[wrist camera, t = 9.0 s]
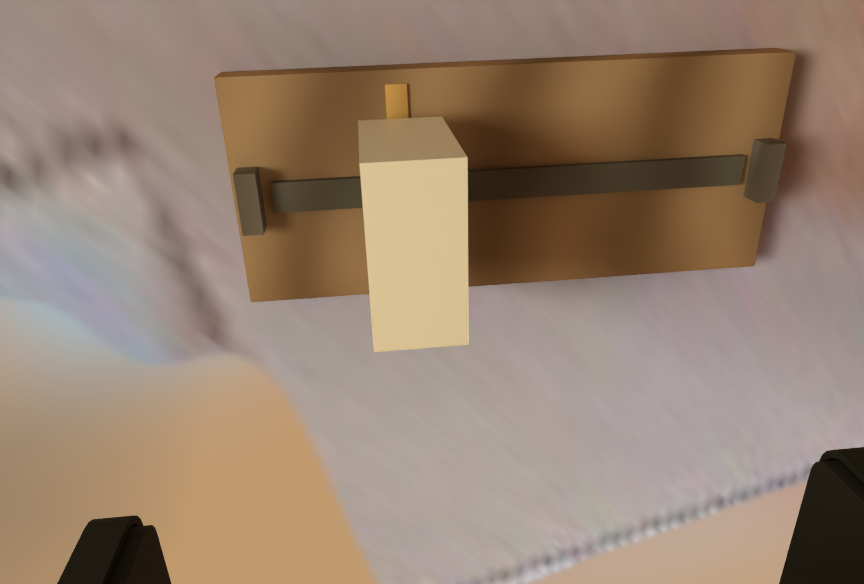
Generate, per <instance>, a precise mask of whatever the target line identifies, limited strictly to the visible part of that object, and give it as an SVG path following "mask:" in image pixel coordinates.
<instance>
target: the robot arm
mask: <svg viewBox="0 0 864 584" xmlns="http://www.w3.org/2000/svg"><path fill="white" fill-rule="evenodd" d="M57 584H171V581H170V578H169V574H168V570H167V567H166V563H165V560H164V556H163V553H162V549H161V546H160V542H159V538H158V535H157V532H156V529H155V527H154V526H152V525H148V526H143V524H142V521H141V519H140V518H139V517H138V516H125V517H114V518H103V519H93V520H91V521H90V522H89V523H88V524H87V526H86V527H85V529H84V531H83V533H82V535H81V537H80V539H79V541H78V543H77V545H76V547H75V549H74V551H73V553H72V555H71V557H70V559H69V561H68V563H67V565H66V567H65V569H64V571H63V573H62V575H61V577H60V580H59V581H58V583H57ZM779 584H864V447H861V448H850V449H839V450H830V451H826V452H825V453H824V454H823V455H822V456H821V459H820V461H819V462H816V463H815V464H814V465H813V466H812V468H811V471H810V475H809V478H808V482H807V486H806V489H805V493H804V497H803V500H802V504H801V507H800V511H799V515H798V518H797V522H796V525H795V529H794V533H793V536H792V540H791V543H790V547H789V550H788V554H787V558H786V561H785V565H784V569H783V572H782V576H781V579H780V583H779Z"/></svg>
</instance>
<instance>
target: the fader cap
mask: <svg viewBox="0 0 864 584" xmlns="http://www.w3.org/2000/svg"><path fill="white" fill-rule="evenodd" d="M358 134H359V166H360V178H361V191H362V204H363V217H364V230H365V243H366V256H367V268H368V281H369V294H370V307H371V320H372V333H373V345H374V352H380V351H392V350H405V349H417V348H430V347H443V346H455V345H468V344H469V312H468V157H467V156H466V154H465V153H464V151H463V149H462V148H461V146H460V145H459V143H458V141H457V140H456V138H455V137H454V135H453V133H452V132H451V130H450V129H449V127H448V125H447V124H446V122H445V121H444V119H443V117H442V116H439V117H420V118H400V119H380V120H360V121H358Z"/></svg>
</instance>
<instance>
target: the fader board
mask: <svg viewBox="0 0 864 584" xmlns="http://www.w3.org/2000/svg"><path fill="white" fill-rule="evenodd" d="M795 56H796V52H794V51H789V50H783V49H777V48H764V49H741V50H718V51H695V52H672V53H650V54H627V55H604V56H581V57H558V58H535V59H512V60H489V61H467V62H444V63H421V64H398V65H375V66H352V67H329V68H306V69H284V70H261V71H238V72H221V73H220V74H218V75H217V76H216V77H214V80H215V87H216V93H217V99H218V105H219V111H220V117H221V123H222V129H223V135H224V141H225V147H226V153H227V159H228V165H229V172H230V178H231V184H232V190H233V196H234V202H235V208H236V214H237V220H238V226H239V232H240V238H241V244H242V251H243V257H244V263H245V269H246V275H247V281H248V287H249V293H250V299H251V302H261V301H275V300H289V299H303V298H317V297H331V296H345V295H359V294H369V281H368V268H367V256H366V243H365V230H364V217H363V204H362V191H361V178H360V166H359V134H358V121H360V120H380V119H400V118H420V117H439V116H442V117H443V119H444V121H445V122H446V124H447V125H448V127H449V129H450V130H451V132H452V133H453V135H454V137H455V138H456V140H457V141H458V143H459V145H460V146H461V148H462V149H463V151H464V153H465V154H466V156H467V157H468V287H470V286H484V285H498V284H511V283H525V282H539V281H553V280H567V279H581V278H595V277H609V276H623V275H636V274H650V273H664V272H678V271H692V270H706V269H720V268H734V267H748V266H754V264H755V259H756V254H757V249H758V244H759V239H760V234H761V229H762V224H763V219H764V214H765V209H766V203H768V202H775V200H776V195H777V190H778V185H779V180H780V175H781V170H782V165H783V160H784V155H785V150H786V145H787V143H784V142H782V141H779V137H780V132H781V127H782V122H783V117H784V112H785V107H786V102H787V97H788V92H789V87H790V82H791V77H792V71H793V66H794V61H795Z"/></svg>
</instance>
